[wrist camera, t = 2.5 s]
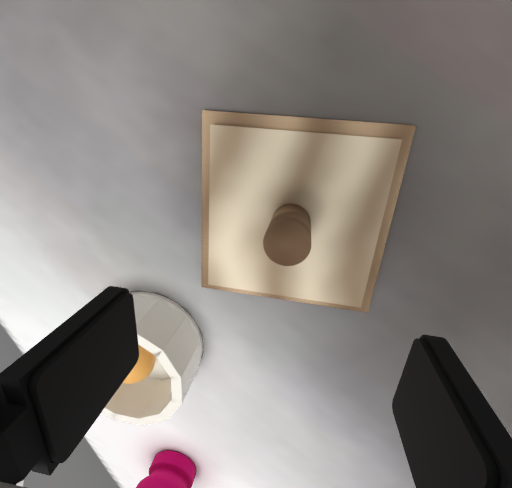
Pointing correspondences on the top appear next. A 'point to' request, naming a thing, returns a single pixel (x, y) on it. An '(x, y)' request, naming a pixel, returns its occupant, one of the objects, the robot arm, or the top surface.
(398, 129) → the mat
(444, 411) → the robot arm
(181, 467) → the pepper mill
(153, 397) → the bowl
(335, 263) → the lid
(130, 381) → the orange ball
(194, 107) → the top surface
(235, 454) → the top surface
